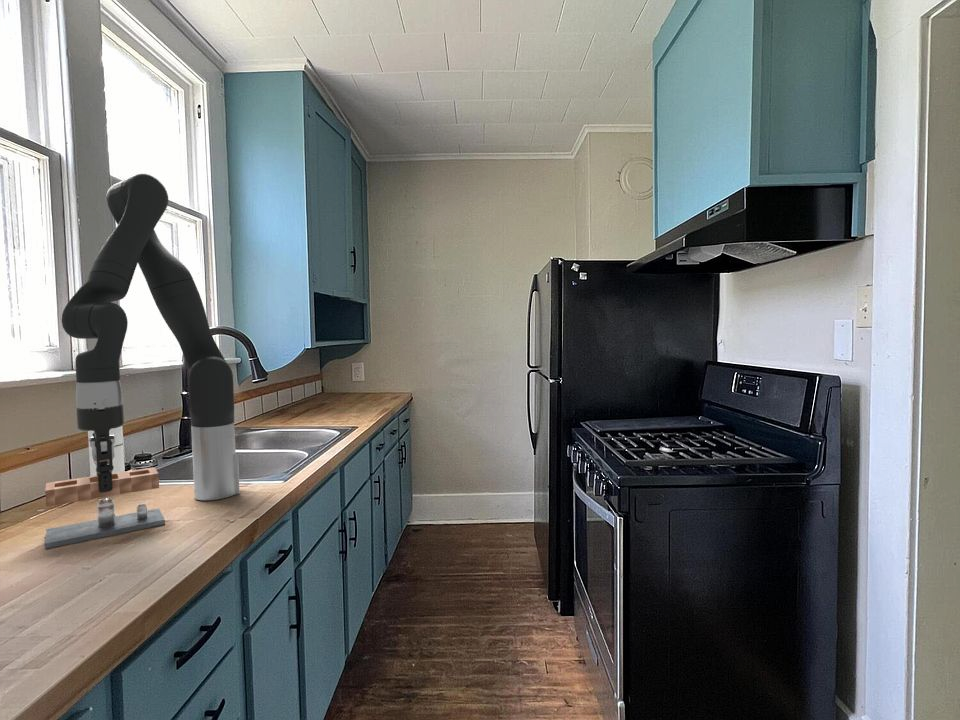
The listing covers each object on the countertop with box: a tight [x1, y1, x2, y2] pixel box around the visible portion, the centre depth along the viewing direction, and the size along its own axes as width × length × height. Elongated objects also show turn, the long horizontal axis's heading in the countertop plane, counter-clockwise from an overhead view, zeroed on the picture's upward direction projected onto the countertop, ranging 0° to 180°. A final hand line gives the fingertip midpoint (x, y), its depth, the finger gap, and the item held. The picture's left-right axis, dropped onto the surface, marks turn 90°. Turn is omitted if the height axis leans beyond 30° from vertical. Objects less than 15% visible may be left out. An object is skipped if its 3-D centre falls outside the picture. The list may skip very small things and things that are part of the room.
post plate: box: [44, 496, 166, 549], centre depth 107 cm, size 19×9×6 cm, turn 128°
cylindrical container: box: [87, 426, 126, 477], centre depth 135 cm, size 7×7×25 cm
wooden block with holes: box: [44, 467, 160, 508], centre depth 106 cm, size 18×6×3 cm, turn 128°
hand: (104, 487), depth 106 cm, fingers closed on wooden block with holes, 6 cm apart
